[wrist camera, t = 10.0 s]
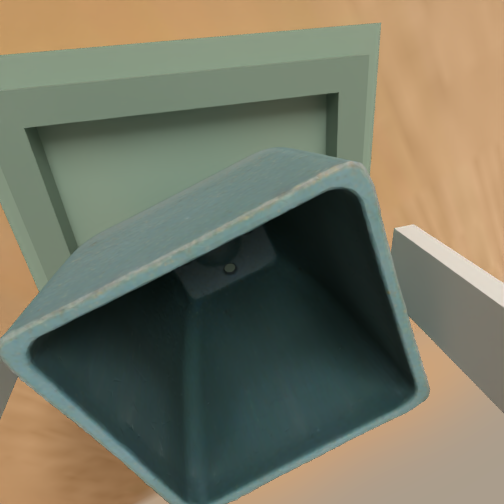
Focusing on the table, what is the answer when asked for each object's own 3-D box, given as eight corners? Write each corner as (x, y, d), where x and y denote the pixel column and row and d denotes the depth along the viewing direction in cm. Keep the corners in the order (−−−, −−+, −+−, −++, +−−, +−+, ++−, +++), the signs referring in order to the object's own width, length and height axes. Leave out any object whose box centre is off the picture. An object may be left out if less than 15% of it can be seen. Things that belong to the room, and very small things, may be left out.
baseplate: (87, 376, 21) (78, 411, 19) (-45, 60, 13) (-83, 60, 11) (349, 320, 23) (367, 345, 21) (366, 25, 16) (397, 20, 13)
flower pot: (262, 104, 15) (369, 152, 7) (326, 265, 19) (436, 402, 12) (73, 202, 15) (-22, 351, 7) (179, 339, 20) (190, 524, 12)
